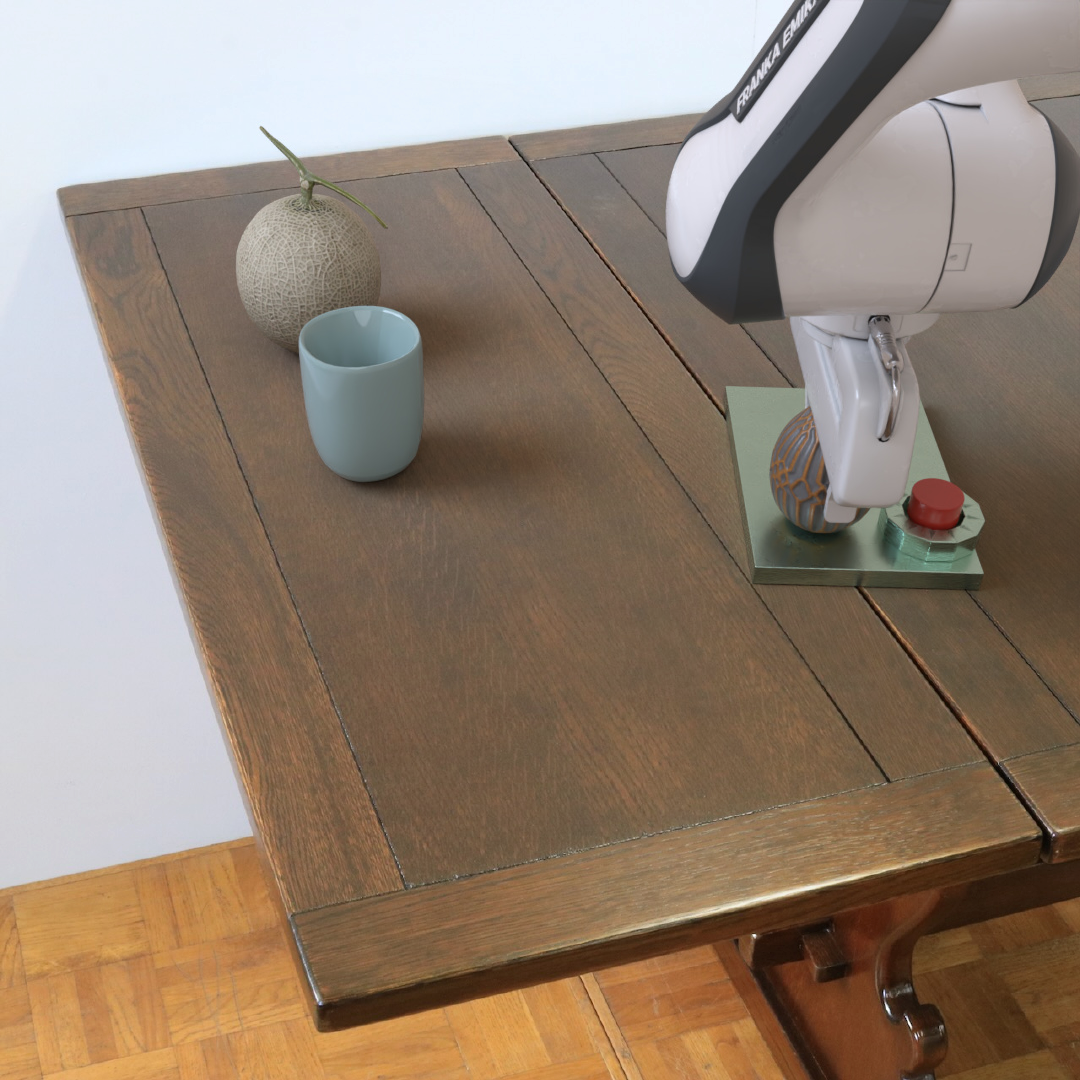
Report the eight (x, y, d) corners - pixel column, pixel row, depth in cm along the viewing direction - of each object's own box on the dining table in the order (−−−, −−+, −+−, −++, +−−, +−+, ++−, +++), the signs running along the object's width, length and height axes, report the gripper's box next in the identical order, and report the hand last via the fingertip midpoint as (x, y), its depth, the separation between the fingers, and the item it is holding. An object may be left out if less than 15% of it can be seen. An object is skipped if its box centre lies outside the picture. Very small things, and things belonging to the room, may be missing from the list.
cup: (401, 419, 94) (394, 295, 88) (444, 480, 89) (441, 352, 82) (295, 446, 91) (281, 319, 85) (334, 510, 86) (321, 380, 80)
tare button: (963, 532, 82) (970, 510, 81) (911, 530, 82) (917, 508, 81) (952, 500, 84) (958, 478, 83) (902, 498, 84) (907, 476, 83)
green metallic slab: (986, 590, 82) (998, 553, 80) (752, 583, 82) (758, 546, 80) (920, 407, 97) (928, 372, 95) (723, 401, 97) (727, 366, 95)
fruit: (373, 388, 97) (360, 197, 88) (225, 368, 99) (196, 179, 89) (412, 317, 105) (404, 135, 96) (274, 300, 107) (253, 119, 97)
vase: (763, 476, 87) (781, 362, 82) (869, 486, 86) (895, 372, 81) (762, 542, 82) (782, 425, 76) (875, 554, 81) (903, 437, 76)
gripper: (966, 377, 65) (910, 586, 74) (889, 195, 81) (850, 385, 90) (838, 373, 65) (797, 583, 74) (786, 192, 81) (757, 383, 90)
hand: (826, 473), depth 82 cm, fingers closed on vase, 7 cm apart
